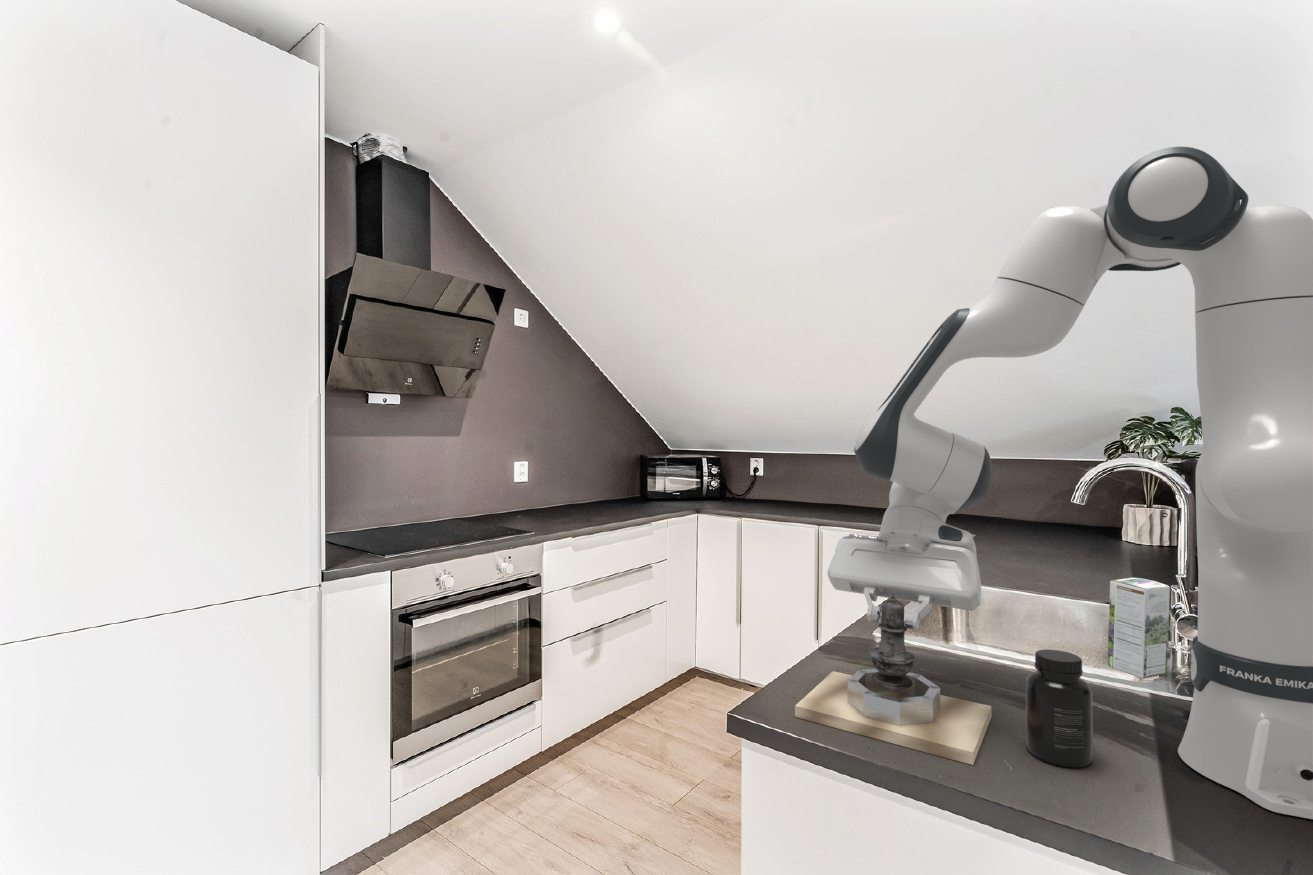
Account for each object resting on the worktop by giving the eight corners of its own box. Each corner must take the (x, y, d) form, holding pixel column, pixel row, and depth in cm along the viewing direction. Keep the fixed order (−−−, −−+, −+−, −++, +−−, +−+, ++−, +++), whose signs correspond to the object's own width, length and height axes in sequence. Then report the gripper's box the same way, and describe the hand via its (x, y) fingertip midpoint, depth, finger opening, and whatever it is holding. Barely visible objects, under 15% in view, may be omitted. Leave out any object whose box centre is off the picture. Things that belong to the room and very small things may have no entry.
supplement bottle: (1098, 754, 78) (1099, 655, 77) (1084, 776, 73) (1085, 671, 73) (1034, 735, 82) (1035, 642, 82) (1017, 754, 78) (1018, 655, 77)
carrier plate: (991, 717, 88) (991, 706, 87) (973, 765, 75) (973, 752, 75) (832, 680, 100) (832, 671, 100) (794, 716, 88) (794, 705, 88)
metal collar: (945, 701, 89) (945, 679, 89) (927, 733, 80) (927, 709, 80) (864, 683, 95) (864, 663, 95) (839, 710, 86) (839, 688, 86)
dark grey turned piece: (905, 693, 84) (907, 601, 83) (862, 681, 87) (863, 593, 87) (921, 680, 88) (922, 592, 88) (879, 669, 92) (880, 585, 92)
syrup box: (1130, 662, 108) (1131, 575, 107) (1169, 675, 102) (1170, 584, 102) (1106, 667, 106) (1107, 578, 105) (1145, 680, 100) (1146, 587, 100)
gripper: (835, 520, 99) (811, 598, 91) (984, 534, 87) (971, 625, 79) (845, 545, 103) (822, 621, 95) (988, 561, 91) (976, 650, 83)
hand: (891, 623), depth 87 cm, fingers closed on dark grey turned piece, 4 cm apart
